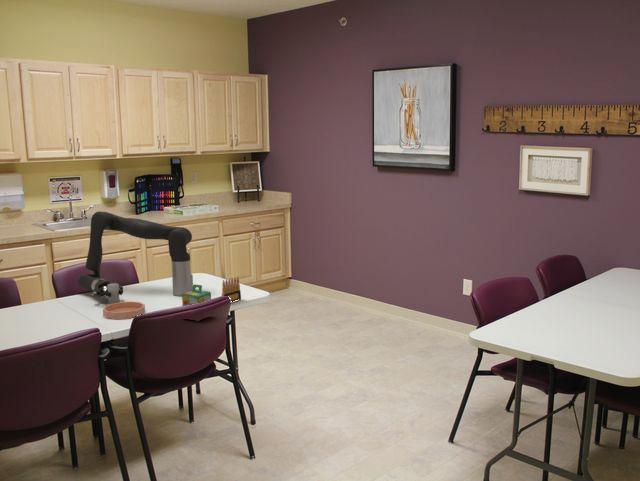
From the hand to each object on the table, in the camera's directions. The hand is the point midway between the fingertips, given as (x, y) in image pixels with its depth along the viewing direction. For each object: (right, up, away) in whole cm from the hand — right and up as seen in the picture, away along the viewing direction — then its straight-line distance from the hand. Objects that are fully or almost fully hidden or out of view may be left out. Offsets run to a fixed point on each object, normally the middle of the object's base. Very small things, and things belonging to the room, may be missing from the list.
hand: (115, 293), depth 291 cm
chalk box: (+42, -9, -19) cm, 47 cm away
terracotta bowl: (+7, -8, -11) cm, 15 cm away
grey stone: (-2, -6, +3) cm, 7 cm away
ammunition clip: (+53, -5, +6) cm, 54 cm away
